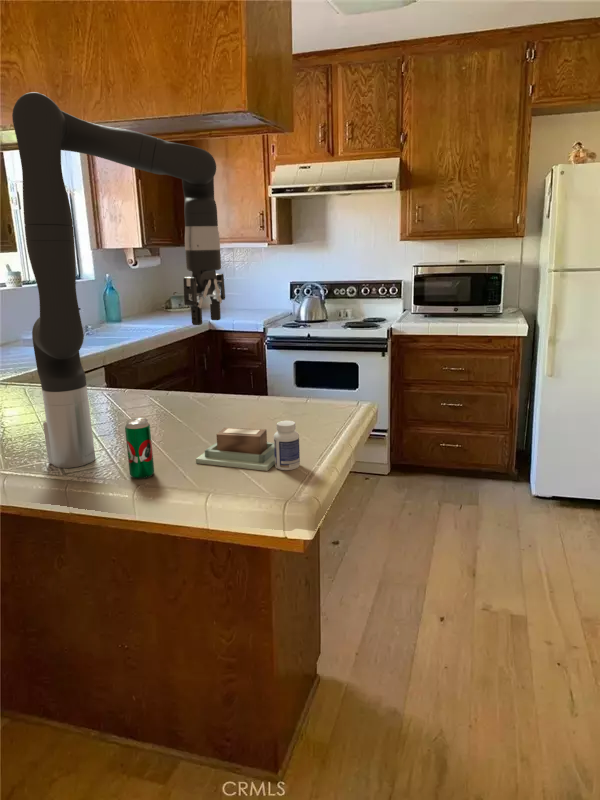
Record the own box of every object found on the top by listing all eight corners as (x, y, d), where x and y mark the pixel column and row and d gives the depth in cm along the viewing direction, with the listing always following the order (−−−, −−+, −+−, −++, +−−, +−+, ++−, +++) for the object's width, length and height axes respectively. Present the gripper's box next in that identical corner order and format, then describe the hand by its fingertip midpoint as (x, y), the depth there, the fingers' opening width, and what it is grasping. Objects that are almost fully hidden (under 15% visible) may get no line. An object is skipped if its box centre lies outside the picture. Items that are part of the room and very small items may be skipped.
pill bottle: (305, 465, 133) (303, 422, 130) (288, 472, 129) (286, 428, 126) (286, 460, 136) (285, 417, 134) (269, 467, 132) (267, 423, 130)
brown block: (217, 455, 137) (216, 433, 136) (225, 448, 142) (224, 426, 140) (260, 458, 135) (259, 435, 133) (267, 450, 140) (266, 428, 138)
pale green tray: (196, 463, 136) (195, 450, 135) (218, 446, 146) (218, 434, 145) (267, 470, 130) (266, 457, 129) (285, 453, 140) (285, 441, 139)
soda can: (156, 470, 132) (151, 416, 129) (152, 479, 127) (146, 423, 124) (133, 471, 132) (127, 417, 129) (127, 480, 127) (121, 424, 124)
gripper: (201, 248, 127) (206, 327, 131) (232, 247, 140) (236, 319, 144) (170, 249, 129) (175, 326, 134) (203, 247, 142) (207, 318, 146)
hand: (206, 322), depth 139 cm, fingers open, 8 cm apart
